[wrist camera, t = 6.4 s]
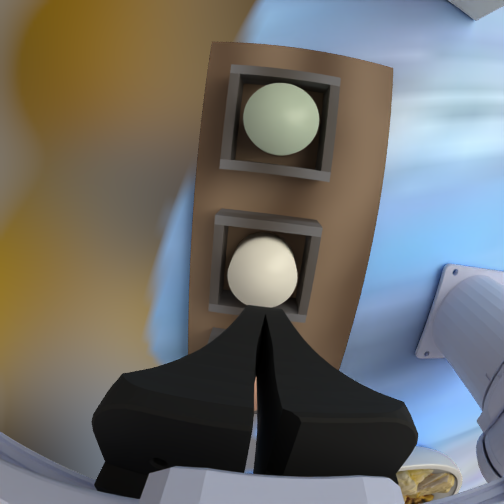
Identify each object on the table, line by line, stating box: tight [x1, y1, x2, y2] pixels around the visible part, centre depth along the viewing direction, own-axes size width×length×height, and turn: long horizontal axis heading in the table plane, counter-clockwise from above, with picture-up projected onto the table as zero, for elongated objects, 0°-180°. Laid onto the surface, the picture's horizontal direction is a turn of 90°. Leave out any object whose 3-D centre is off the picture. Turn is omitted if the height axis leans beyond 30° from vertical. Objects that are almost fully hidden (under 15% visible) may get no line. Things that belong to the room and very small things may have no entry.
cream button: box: [228, 232, 297, 308], centre depth 17 cm, size 4×4×2 cm
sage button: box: [243, 83, 319, 156], centre depth 15 cm, size 4×4×2 cm
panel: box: [188, 42, 393, 414], centre depth 18 cm, size 11×26×3 cm, turn 174°
